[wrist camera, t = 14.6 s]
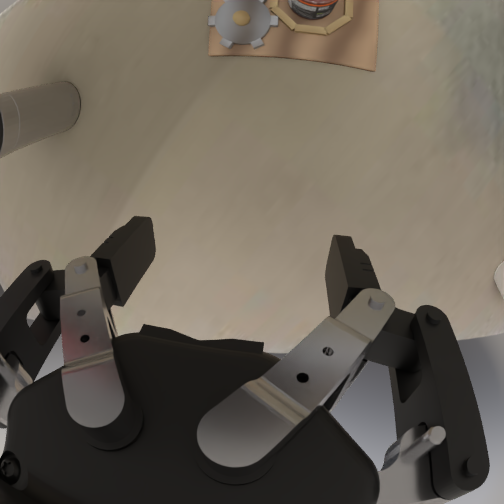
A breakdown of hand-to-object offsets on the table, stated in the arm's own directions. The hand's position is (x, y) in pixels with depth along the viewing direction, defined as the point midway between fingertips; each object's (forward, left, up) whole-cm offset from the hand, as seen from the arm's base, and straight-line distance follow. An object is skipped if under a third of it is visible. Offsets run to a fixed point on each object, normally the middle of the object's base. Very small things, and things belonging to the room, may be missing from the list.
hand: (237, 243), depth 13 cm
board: (+2, +19, -30) cm, 36 cm away
